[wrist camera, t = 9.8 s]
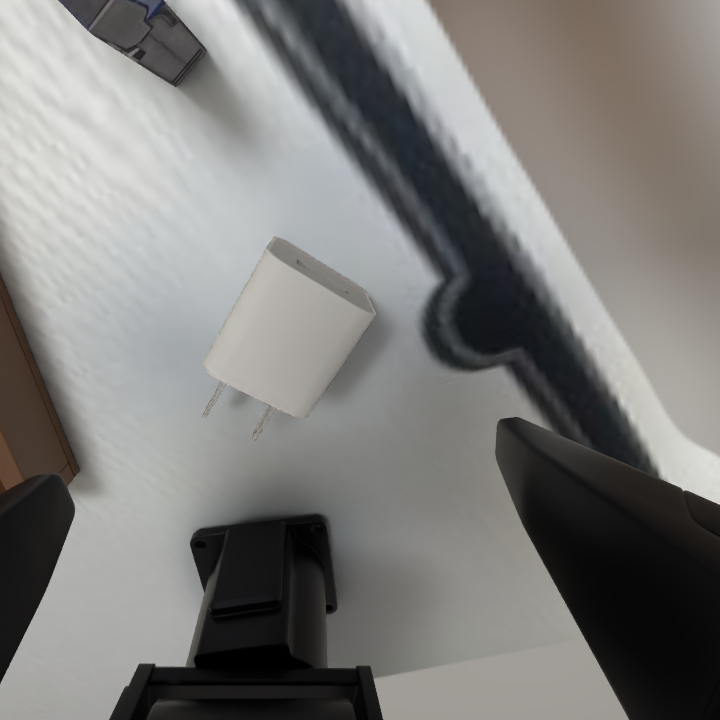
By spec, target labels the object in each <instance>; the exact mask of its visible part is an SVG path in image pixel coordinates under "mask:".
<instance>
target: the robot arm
mask: <svg viewBox="0 0 720 720" xmlns="http://www.w3.org/2000/svg"><path fill="white" fill-rule="evenodd" d="M495 454H496V460H497V463H498V466H499V468H500V471H501V473H502V476H503V478H504V481H505V483H506V485H507V488H508V490H509V493H510V495H511V498H512V500H513V503H514V505H515V508H516V510H517V512H518V515H519V517H520V519H521V522H522V524H523V526H524V528H525V530H526V532H527V534H528V536H529V537H530V539H531V541H532V543H533V545H534V547H535V548H536V550H537V552H538V554H539V556H540V558H541V559H542V561H543V563H544V565H545V567H546V568H547V570H548V572H549V574H550V576H551V578H552V579H553V581H554V583H555V585H556V587H557V589H558V590H559V592H560V594H561V596H562V598H563V600H564V601H565V603H566V605H567V607H568V609H569V610H570V612H571V614H572V616H573V618H574V620H575V621H576V623H577V625H578V627H579V629H580V631H581V632H582V634H583V636H584V638H585V640H586V642H587V643H588V645H589V647H590V649H591V651H592V652H593V654H594V656H595V658H596V660H597V662H598V663H599V665H600V667H601V669H602V670H603V672H604V674H605V676H606V678H607V680H608V682H609V683H610V685H611V687H612V689H613V691H614V693H615V694H616V696H617V698H618V700H619V702H620V704H621V705H622V707H623V709H624V711H625V713H626V714H627V716H628V718H629V720H720V505H719V504H717V503H714V502H712V501H710V500H707V499H705V498H703V497H700V496H698V495H696V494H694V493H691V492H689V491H683V490H682V489H681V488H680V487H677V486H675V485H673V484H670V483H668V482H666V481H664V480H661V479H659V478H657V477H654V476H652V475H650V474H647V473H645V472H643V471H641V470H638V469H636V468H634V467H631V466H629V465H627V464H625V463H622V462H620V461H618V460H615V459H613V458H611V457H608V456H606V455H604V454H602V453H599V452H597V451H595V450H592V449H590V448H588V447H585V446H583V445H581V444H579V443H576V442H574V441H572V440H569V439H567V438H565V437H563V436H560V435H558V434H556V433H553V432H551V431H549V430H546V429H544V428H542V427H540V426H537V425H535V424H533V423H530V422H528V421H526V420H524V419H521V418H519V417H513V418H505V419H500V420H499V421H498V424H497V432H496V449H495ZM74 514H75V506H74V502H73V500H72V498H71V495H70V493H69V491H68V489H67V486H66V484H65V482H64V479H63V478H62V476H61V475H60V474H58V473H47V474H39V475H35V476H32V477H30V478H28V479H27V480H25V481H23V482H21V483H19V484H17V485H16V486H14V487H12V488H10V489H8V490H6V491H5V492H3V493H1V494H0V683H1V681H2V679H3V677H4V675H5V673H6V671H7V669H8V667H9V665H10V663H11V661H12V659H13V657H14V655H15V653H16V651H17V649H18V647H19V645H20V643H21V641H22V639H23V636H24V634H25V632H26V630H27V628H28V626H29V624H30V622H31V620H32V618H33V616H34V614H35V612H36V610H37V608H38V606H39V604H40V602H41V600H42V598H43V596H44V593H45V591H46V589H47V586H48V584H49V582H50V579H51V577H52V574H53V571H54V569H55V566H56V563H57V561H58V558H59V555H60V553H61V550H62V548H63V545H64V542H65V540H66V537H67V534H68V532H69V529H70V526H71V524H72V521H73V518H74ZM315 525H319V527H313V526H315ZM199 540H203V541H205V542H201V541H199ZM190 547H191V550H192V553H193V556H194V560H195V563H196V566H197V570H198V573H199V576H200V580H201V583H202V586H203V589H204V597H203V601H202V605H201V609H200V613H199V617H198V621H197V625H196V628H195V632H194V636H193V640H192V644H191V648H190V652H189V656H188V659H187V663H186V667H155V664H139V665H138V667H137V669H136V672H135V674H134V676H133V678H132V680H131V682H130V684H129V686H126V687H125V688H124V690H123V692H122V694H121V696H120V698H119V700H118V703H117V705H116V707H115V709H114V711H113V713H112V715H111V717H110V719H109V720H383V718H382V713H381V709H380V705H379V700H378V696H377V692H376V688H375V684H374V679H373V675H372V671H371V667H370V666H356V668H328V665H327V633H326V615H327V614H332V613H334V612H335V611H336V610H337V596H336V588H335V581H334V573H333V566H332V558H331V551H330V543H329V536H328V528H327V522H326V519H325V518H324V517H322V516H320V515H314V516H306V517H298V518H291V519H283V520H275V521H267V522H259V523H252V524H244V525H236V526H228V527H220V528H213V529H205V530H199V531H196V532H195V533H194V534H193V536H192V539H191V542H190Z"/></svg>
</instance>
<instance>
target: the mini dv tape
mask: <svg viewBox="0 0 720 720" xmlns="http://www.w3.org/2000/svg"><path fill="white" fill-rule="evenodd" d="M59 1H60V2H61V3H62V4H63V5H64V6H65V7H66V9H67V10H68V11H69V12H70V13H71V14H72V15H73V16H74V17H75V18H76V19H77V20H78V21H79V22H80V23H81V24H82V25H83V26H84V27H85V28H86V29H87V30H88V31H89V32H90V33H91V34H92V35H94V36H95V37H97V38H99V39H100V40H102V41H103V42H105V43H107V44H108V45H110V46H111V47H113V48H114V49H116V50H118V51H119V52H121V53H122V54H124V55H125V56H127V57H129V58H130V59H132V60H133V61H135V62H136V63H138V64H140V65H141V66H143V67H144V68H146V69H148V70H149V71H151V72H152V73H154V74H155V75H157V76H159V77H160V78H162V79H163V80H165V81H166V82H168V83H170V84H171V85H173V86H174V87H176V86H177V85H178V84H179V82H180V81H181V80H182V79H183V78H184V77H185V75H186V74H187V73H188V72H189V71H190V70H191V68H192V67H193V66H194V65H195V64H196V62H197V61H198V60H199V59H200V58H201V57H202V55H203V54H204V53H205V52H206V51H207V50H206V48H205V47H204V46H203V45H202V44H201V43H200V42H199V40H198V39H197V38H196V37H195V36H194V35H193V34H192V32H191V31H190V30H189V29H188V28H187V27H186V26H185V24H184V23H183V22H182V21H181V20H180V19H179V17H178V16H177V15H176V14H175V13H174V12H173V11H172V9H171V8H170V7H169V6H168V5H167V4H166V3H165V1H164V0H59Z"/></svg>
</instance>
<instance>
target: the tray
mask: <svg viewBox="0 0 720 720" xmlns="http://www.w3.org/2000/svg"><path fill="white" fill-rule="evenodd" d="M78 472H79V470H78V468H77V465H76V463H75V460H74V458H73V455H72V453H71V450H70V448H69V445H68V443H67V440H66V438H65V435H64V433H63V430H62V428H61V425H60V423H59V420H58V418H57V415H56V413H55V410H54V408H53V405H52V403H51V400H50V398H49V395H48V393H47V390H46V388H45V385H44V383H43V381H42V378H41V376H40V373H39V371H38V368H37V366H36V363H35V361H34V358H33V356H32V353H31V351H30V348H29V346H28V343H27V341H26V338H25V336H24V333H23V331H22V328H21V326H20V323H19V321H18V318H17V316H16V313H15V311H14V308H13V306H12V303H11V301H10V298H9V296H8V293H7V291H6V288H5V286H4V284H3V281H2V279H1V276H0V494H1V493H3V492H5V491H6V490H8V489H10V488H12V487H14V486H16V485H17V484H19V483H21V482H23V481H25V480H27V479H28V478H30V477H32V476H35V475H39V474H47V473H58V474H60V475H61V476H62V478H63V479H64V482H65V484H66V486H68V485H69V483H70V482H71V481H72V479H73V478H74V477H75V476H76V475H77V474H78Z"/></svg>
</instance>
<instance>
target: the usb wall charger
mask: <svg viewBox="0 0 720 720" xmlns="http://www.w3.org/2000/svg"><path fill="white" fill-rule="evenodd" d="M375 316H376V312H375V310H374V308H373V306H372V304H371V301H370V299H369V297H368V295H367V293H366V292H365V291H364V290H363V289H362V288H360V287H359V286H358V285H356V284H355V283H354V282H352V281H351V280H349V279H347V278H346V277H344V276H342V275H341V274H339V273H338V272H336V271H334V270H333V269H331V268H330V267H328V266H326V265H325V264H323V263H321V262H320V261H318V260H317V259H315V258H313V257H312V256H310V255H309V254H307V253H305V252H304V251H302V250H300V249H299V248H297V247H296V246H294V245H292V244H291V243H289V242H287V241H285V240H283V239H281V238H279V237H276V236H274V237H273V238H272V240H271V241H270V243H269V245H268V246H267V248H266V250H265V251H264V253H263V255H262V257H261V259H260V260H259V262H258V264H257V266H256V268H255V269H254V271H253V273H252V275H251V277H250V278H249V280H248V282H247V284H246V286H245V287H244V289H243V291H242V293H241V295H240V296H239V298H238V300H237V302H236V304H235V305H234V307H233V309H232V311H231V313H230V314H229V316H228V318H227V320H226V322H225V323H224V325H223V327H222V329H221V331H220V332H219V334H218V336H217V338H216V340H215V341H214V343H213V345H212V347H211V349H210V350H209V352H208V354H207V356H206V358H205V359H204V361H203V366H204V368H205V369H206V371H207V372H208V373H209V374H210V375H211V376H213V377H214V378H216V379H217V380H219V381H221V383H220V385H219V387H218V388H217V390H216V392H215V393H214V395H213V397H212V399H211V400H210V402H209V404H208V406H207V407H206V410H205V412H204V414H203V416H202V417H203V418H206V417H207V415H208V414H209V412H210V410H211V409H212V407H213V405H214V403H215V402H216V400H217V398H218V397H219V395H220V393H221V392H222V390H223V388H224V386H225V385H226V384H227V385H229V386H231V387H234V388H236V389H238V390H240V391H242V392H244V393H246V394H248V395H250V396H252V397H254V398H256V399H258V400H260V401H262V402H264V403H266V404H268V405H270V406H269V407H268V409H267V410H266V412H265V414H264V415H263V417H262V418H261V420H260V422H259V423H258V425H257V427H256V428H255V430H254V434H253V438H252V441H255V440H256V439H257V438H258V436H259V435H260V433H261V432H262V430H263V429H264V427H265V426H266V424H267V422H268V421H269V419H270V418H271V416H272V415H273V413H274V412H275V410H276V409H278V410H281V411H283V412H285V413H287V414H289V415H291V416H293V417H296V418H306V417H308V416H309V414H310V413H311V411H312V410H313V408H314V407H315V405H316V404H317V402H318V401H319V399H320V398H321V396H322V395H323V393H324V392H325V390H326V389H327V387H328V386H329V384H330V383H331V381H332V380H333V378H334V377H335V375H336V374H337V372H338V371H339V369H340V368H341V366H342V365H343V363H344V362H345V360H346V359H347V357H348V356H349V354H350V353H351V351H352V350H353V348H354V347H355V345H356V344H357V342H358V341H359V339H360V338H361V336H362V335H363V334H364V332H365V331H366V329H367V328H368V326H369V325H370V323H371V322H372V320H373V319H374V317H375Z"/></svg>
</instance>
